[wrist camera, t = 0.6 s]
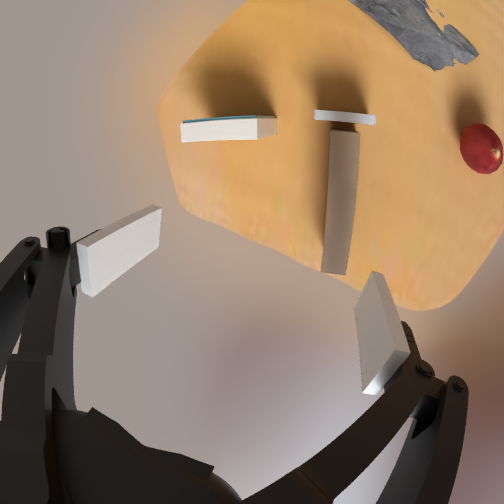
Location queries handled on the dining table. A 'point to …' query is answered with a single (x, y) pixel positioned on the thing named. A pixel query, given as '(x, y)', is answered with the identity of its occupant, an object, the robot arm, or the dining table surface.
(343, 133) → the scraper
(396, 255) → the dining table surface
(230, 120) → the tile
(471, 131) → the onion
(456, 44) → the stone slab
